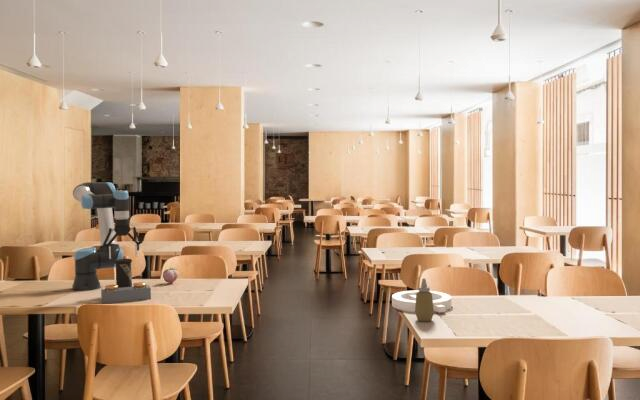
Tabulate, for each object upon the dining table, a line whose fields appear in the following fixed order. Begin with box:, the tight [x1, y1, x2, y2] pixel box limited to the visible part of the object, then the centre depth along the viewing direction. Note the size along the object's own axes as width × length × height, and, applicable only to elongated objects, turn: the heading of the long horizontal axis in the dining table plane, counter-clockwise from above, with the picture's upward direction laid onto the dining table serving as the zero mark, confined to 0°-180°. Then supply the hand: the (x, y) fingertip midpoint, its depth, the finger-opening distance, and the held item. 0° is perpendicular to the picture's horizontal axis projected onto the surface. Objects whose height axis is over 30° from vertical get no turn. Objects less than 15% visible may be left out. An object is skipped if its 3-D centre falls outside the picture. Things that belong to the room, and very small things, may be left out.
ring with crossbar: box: [391, 289, 452, 313], centre depth 259 cm, size 28×28×5 cm
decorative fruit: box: [162, 267, 179, 284], centre depth 328 cm, size 9×8×10 cm
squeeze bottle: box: [414, 278, 435, 323], centre depth 232 cm, size 8×8×18 cm
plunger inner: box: [104, 284, 118, 291], centre depth 281 cm, size 6×6×7 cm
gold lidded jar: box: [132, 281, 147, 289], centre depth 286 cm, size 6×6×7 cm
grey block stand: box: [100, 284, 152, 304], centre depth 284 cm, size 24×8×6 cm, turn 114°
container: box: [115, 258, 133, 288], centre depth 296 cm, size 9×9×20 cm
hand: (123, 257), depth 296 cm, fingers open, 13 cm apart
